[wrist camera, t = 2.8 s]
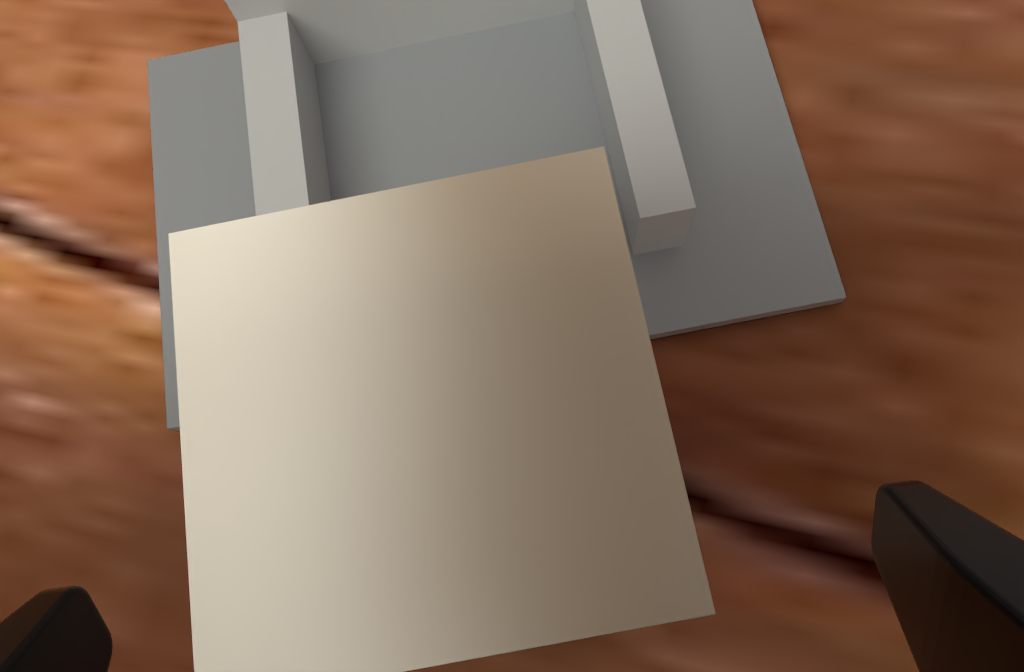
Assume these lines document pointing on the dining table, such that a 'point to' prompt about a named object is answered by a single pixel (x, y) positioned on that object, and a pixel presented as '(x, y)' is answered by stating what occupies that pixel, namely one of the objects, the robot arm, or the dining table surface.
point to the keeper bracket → (506, 132)
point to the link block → (425, 428)
